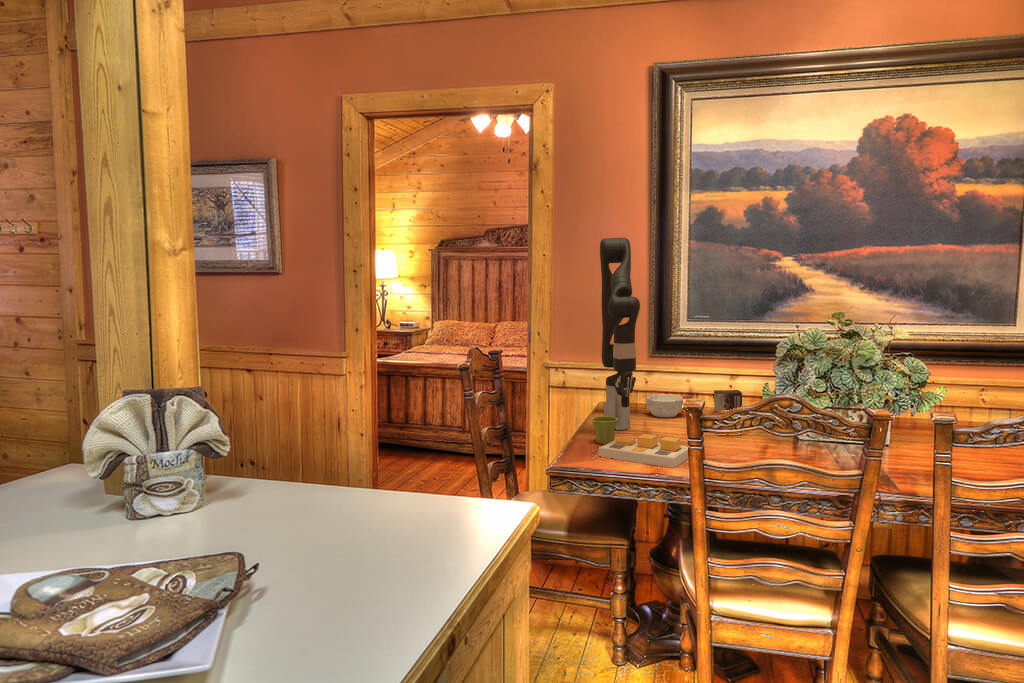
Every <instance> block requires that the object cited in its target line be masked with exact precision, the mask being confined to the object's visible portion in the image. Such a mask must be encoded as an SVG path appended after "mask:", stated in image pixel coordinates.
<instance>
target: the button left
mask: <svg viewBox="0 0 1024 683" xmlns="http://www.w3.org/2000/svg"><path fill="white" fill-rule="evenodd" d="M615 440H616V439H615ZM636 440H637V439H636V438H632V437H627V436H626V437H624V436H622V437H618V438H617V440H616V444H618V445H625V446H631V445H633V444H635V443H636Z"/></svg>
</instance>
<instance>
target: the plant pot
mask: <svg viewBox="0 0 1024 683" xmlns="http://www.w3.org/2000/svg"><path fill="white" fill-rule="evenodd" d="M591 421H592V424H593V427H594V432H595V439H596V443H597V442H598V443H597V444H601V443H603V444H602V445H606V444H608V443H610V442H612V441H614V440H615V432H616V430H615V427H616V423H617V421H618V419H617V418H615V417H608V416H594V417H592V418H591Z"/></svg>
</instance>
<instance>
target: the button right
mask: <svg viewBox="0 0 1024 683" xmlns="http://www.w3.org/2000/svg"><path fill="white" fill-rule="evenodd" d="M681 439H682V438H680V437H673V436H672V437H671V436H665V437H663V438H661V439H660V440H659V443H660V449H664V450H672V451H676V450H677V449H679V448H681V446H682V444H681V443H682V440H681Z"/></svg>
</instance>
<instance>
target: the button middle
mask: <svg viewBox="0 0 1024 683" xmlns="http://www.w3.org/2000/svg"><path fill="white" fill-rule="evenodd" d="M658 439H659V438H658V435H655V434H647V433H643V434H641V435H638V436H637V439H636V440H637V444H638V446H642V447H649V448H652V447H654V446H656V445H658V443H659V440H658Z"/></svg>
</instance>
